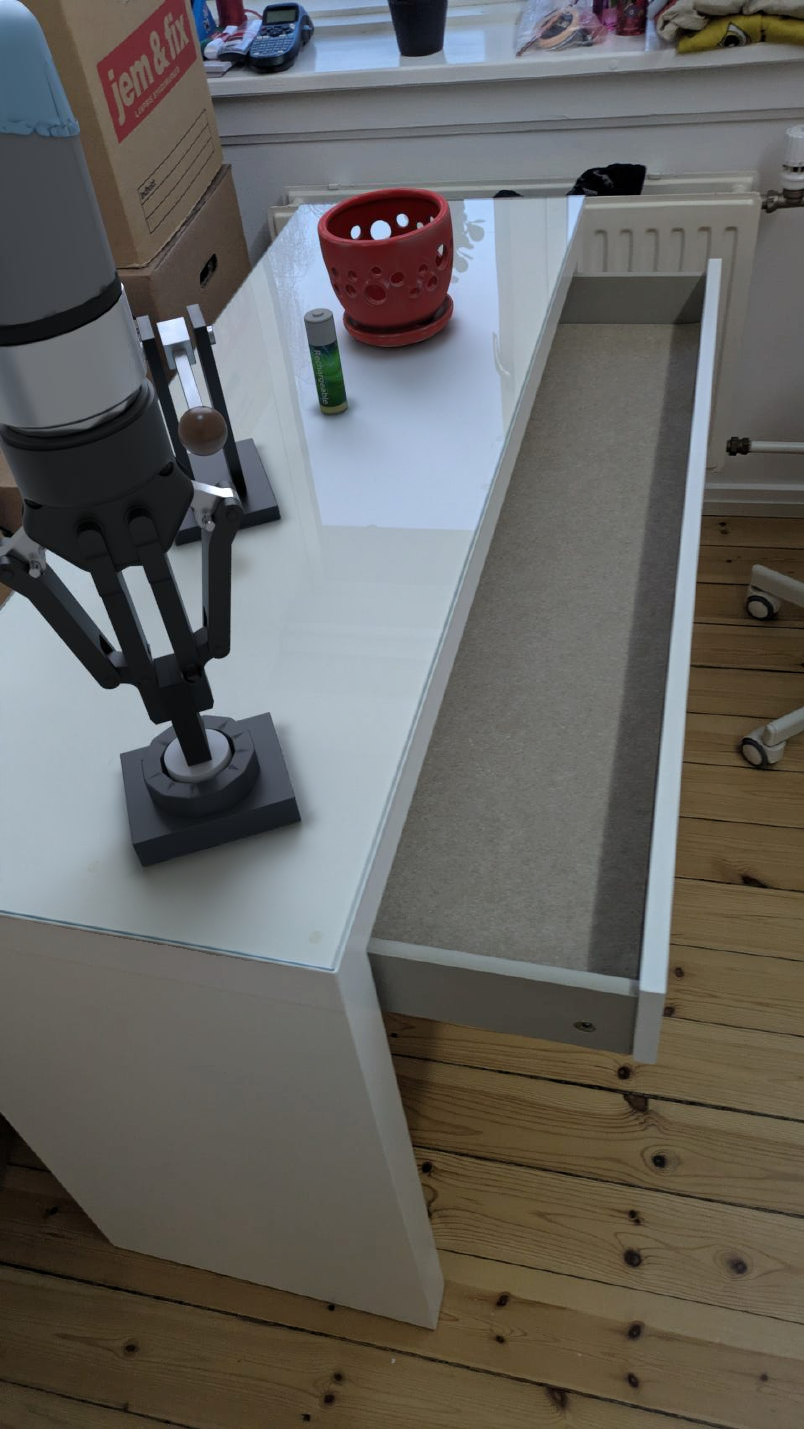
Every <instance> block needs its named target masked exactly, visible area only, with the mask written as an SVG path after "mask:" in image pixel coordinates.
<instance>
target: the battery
mask: <svg viewBox="0 0 804 1429" xmlns="http://www.w3.org/2000/svg"><path fill="white" fill-rule="evenodd" d="M303 323H304V328H305V333H306V339H307V344H308V350H309V356H310V360H311V367H312V371H313V372H312V373H313V377H314V382H315V388H316V393H317V399H318V404H319V409H320V411H321V413H322V414H324V415H332V416H333V415H339V414H342V413H343V412H345V411H346V410H347V409H348V407H349V404H348V399H347V398H348V396H347V392H346V385H345V378H344V373H343V366H342V361H341V355H340V354H341V353H340V348H339V343H338V336H337V331H336V324H335V318H334V313H333V311H332V310H331V309H329V308H325V307H322V308H321V307H319V308H314V309H311V310H309V311H307V312H306V313H305V314H304V315H303Z"/></svg>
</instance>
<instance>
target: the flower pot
mask: <svg viewBox="0 0 804 1429" xmlns="http://www.w3.org/2000/svg"><path fill="white" fill-rule="evenodd" d="M400 215H404V216H406V217H407V221H408V222H407V224H406V225H405V226H403V225H400V224H399V222H398V217H399V216H400ZM431 218H432V219H431ZM380 221H382V222H384V223H385V224H387V225H388V226H389V229H390V234H389V236H388V237H387V238H380V239H375V238H374V237H373V234H372V227H373V225H374V224H375V223H376V222H380ZM419 223H420V224H422V226H421V227H419V228H418V224H419ZM354 227H358V228H359V234H358V236H357V237H356V238H355V237H353V235H352V231H353V229H354ZM316 231H317V236H318V242H319V247H320V248H319V249H320V252H321V255H322V256H321V257H322V260H323V263H324V266H325V268H326V271H327V275H328V277H329V282H330V285H331V288H332V290H333V293H334V295H335V296H336V298H337V301H338V302H339V303H340V305H341V306H342V308H343V310H344V311H343V314H342V324H343V326H344V329H345V330H346V331H347V333H348V334H349V335H350V336H352V337H353V338H354V339H356V340H358V341H359V342H362V343H363V344H367V345H371V346H375V347H383V348H384V347H386V348H390V347H393V348H394V347H402V346H407V345H412V344H414V343H418V342H424V341H426V340H427V339H428V338H431V337H432V336H434V335H435V334H438V333H439V332H441V330H442V329H443V328H444V327H446V325H448V323H449V321H450V320H451V318H452V315H453V313H454V306H455V305H454V300H453V298H452V296H451V295H450V294H449V293H448V291H449V288H450V286H451V285H450V284H451V281H452V275H453V269H454V258H455V257H454V256H455V255H454V252H455V251H454V250H455V247H454V243H455V242H454V230H453V220H452V214H451V208H450V205H449V202H448V200H447V199H446V198H445V197H444V196H443V195H441V194H440V193H437V192H435V191H433V190H429V189H425V188H417V187H393V188H384V189H383V188H382V189H378V190H372V191H368V192H363V193H360V194H357V195H354V196H351V197H349V198H347V199H345V200H343V201H341V202H339V203H337V204H335V205H334V206H332V207H330V208H329V209H328V210H327V211H325V213H324V214H322V216H321V217H320V218H319V220H318V222H317V227H316ZM441 247H442V252H440V250H439V249H440V248H441Z"/></svg>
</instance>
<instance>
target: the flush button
mask: <svg viewBox="0 0 804 1429" xmlns="http://www.w3.org/2000/svg"><path fill="white" fill-rule="evenodd" d="M205 730H206V735H207V739H208V743H209V748H210V752H211V757H212V760H210V761H207V762H203V763H200V764H196V765H193V766H189V767H188V765H187V762H186V760H185V757H184V754H183V752H182V749H181V746H180V744H179V741H178V738H176V739H175V740H173V741H172V742H171V743H170V745H169V746H168V748H167V749H166V752H165V755H164V762H165V765H166V768H167V770H168V773H169V775H170V778H171V780H173V781H174V782H180V783H189V784H195V783H199V782H202V781H205V780H209V779H212V778H214V777H215V776H216V775H218V774H219V773H220V772H222V771H223V770H224V769H226V768H227V767H228V766H229V764H230V762H231V760H232V758H233V756H232V753H231V750H230V747H229V744H228V741H227V739H226V738H225V736H224V735H222V734H221V733H219V732H218V731H215V730H211V729H205Z"/></svg>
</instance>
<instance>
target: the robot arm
mask: <svg viewBox="0 0 804 1429" xmlns="http://www.w3.org/2000/svg"><path fill="white" fill-rule="evenodd" d="M80 133H81V128H80V125H79V121H78V119H77V118H76V117H75V116H74V114H73V111H72V108H71V105H70V103H69V100H68V97H67V94H66V91H65V89H64V85H63V84H62V81H61V77H60V76H59V72H58V69H57V66H56V64H55V60H54V58H53V55H52V52H51V50H50V48H49V45H48V42H47V40H46V37H45V34H44V31H43V29H42V27H41V24H40V22H39V21H38V19H37V18H36V16H35V15H34V13H32V12H31V10H29V8H28V7H27V6H25V5H24V4H23V3H22V2H21V1H19V0H0V449H1V451H2V453H3V456H4V459H5V461H6V463H7V465H8V467H9V468H8V469H9V470H10V472H11V475H12V477H13V479H14V482H15V484H16V487H17V489H18V491H19V494H20V496H21V498H22V506H21V510H20V511H21V512H20V513H21V517H22V518H21V526H20V527H19V528H18V529H17V531H16V532H15V533H14V534H13V535H12V536H11V537H8V536H7V537H5V536H4V537H3V536H2V537H0V583H1V584H3V586H6V587H7V588H9V589H11V590H13V591H14V592H15V593H18V594H19V595H21V596H23V597H24V598H26V599H28V601H29V602H30V603H31V604H32V605H33V607H34V608H35V609H36V610H37V611H38V613H39V614H40V615H41V616H42V617H43V618H44V620H45V621H46V622H47V623H48V624H49V626H50V628H52V629H53V631H54V633H56V634H57V635H58V637H59V638H60V639H61V640H62V642H63V643H64V644H65V645H66V646H67V648H68V649H69V650H70V651H71V653H72V654H73V655H74V657H75V658H76V659H77V660H78V661H79V662H80V664H82V666H83V667H84V668H85V670H86V671H87V672H88V673H89V674H90V675H91V677H92V678H93V679H94V681H95V682H96V683H97V684H98V686H100V687H101V688H102V689H104V690H114V689H117V688H118V687H120V685H125V684H126V685H130V686H133V687H135V688H136V689H137V690H138V692H139V695H140V698H141V701H142V702H143V706H144V707H145V711H146V712H147V716H148V718H149V720H150V721H151V722H152V723H153V724H154V725H155V726H158V725H162V724H164V723H165V724H166V723H167V722H170V723H171V726H172V725H173V728H174V730H175V733H176V736H177V738H178V741H179V744H180V746H181V749H182V752H183V754H184V757H185V760H186V762H187V765H188V767H189V766H193V765H196V764H200V763H203V762H207V761H210V760H212V757H211V752H210V748H209V743H208V739H207V735H206V730H205V727H204V724H203V722H202V719H201V716H202V715H201V713H202V712H205V711H210V710H212V709H214V704H215V699H214V696H213V691H212V686H211V684H210V681H209V677H208V675H207V671H206V668H205V667H206V665H207V664H208V662H210V661H211V660H213V659H216V660H220V659H221V660H222V659H224V658H227V657H228V656H229V655H230V652H231V639H232V638H231V635H232V634H231V632H232V630H231V628H232V614H231V613H232V560H233V559H232V554H233V553H232V552H233V551H232V550H233V548H232V547H233V546H232V545H233V542H234V540H235V538H236V535H237V533H238V531H239V530H240V529H239V526H240V524H241V522H242V519H243V516H244V512H243V509H242V506H241V502H240V499H239V496H238V494H237V491H236V488H235V485H234V484H233V483H232V482H230V481H220V482H218V483H217V484H216V485H215V486H211V485H208V484H204V483H200V482H197V481H193V480H191V475H190V473H189V471H188V470H187V468H186V467H185V466H184V465H183V464H181V463H180V462H179V461H178V460H177V458H176V456H175V452H174V449H173V446H172V443H171V439H170V436H169V432H168V429H167V426H166V422H165V419H164V416H163V412H162V409H161V406H160V402H159V399H158V396H157V392H156V391H155V390H156V389H155V386H154V385H153V383H152V381H151V380H150V379H149V378H147V374H148V364H147V361H145V358H144V355H143V351H142V348H141V345H140V342H141V341H140V338H139V334H138V331H137V327H136V324H135V321H134V320H135V319H134V317H133V314H132V311H131V310H132V309H131V307H130V303H129V300H128V297H127V293H126V291H125V290H126V289H125V286H124V285H123V283H122V282H121V278H120V275H119V272H118V269H117V267H116V262H115V260H114V257H113V253H112V250H111V246H110V242H109V238H108V235H107V231H106V228H105V225H104V220H103V217H102V213H101V209H100V206H99V203H98V199H97V195H96V192H95V188H94V185H93V181H92V177H91V173H90V170H89V166H88V163H87V159H86V156H85V153H84V149H83V145H82V141H81V137H80ZM190 506H191V507H192V508H194V514H195V517H196V521H197V524H198V526H199V527H201V528H202V539H201V620H202V621H201V624H202V626H201V627H200V628H199V629H197V630H195V631H194V630H193V627H192V625H191V622H190V619H189V615H188V613H187V609H186V607H185V604H184V600H183V598H182V594H181V592H180V589H179V586H178V583H177V580H176V577H175V574H174V571H173V567H172V564H171V561H170V559H169V555H168V552H169V551H170V550H171V549H172V547H173V545H174V544H175V538H176V536H177V534H178V532H179V529H180V527H181V525H182V523H183V521H184V518H185V516H186V514H187V512H188V509H189V507H190ZM44 549H46V550H47V551H49V552H51V553H53V555H56V556H57V557H59V558H61V559H63V560H64V561H66V562H68V563H69V564H71V565H72V566H74V567H76V568H78V569H79V570H81V571H84V572H86V573H90V576H91V579H92V581H93V584H94V587H95V589H96V592H97V594H98V596H99V598H101V601H102V604H103V606H104V609H105V611H106V614H107V616H108V619H109V622H110V624H111V626H112V629H113V633H114V634H115V637H116V640H117V642H118V645H119V647H120V650H121V651H120V650H116V648H115V647H114V645H112V643H111V642H110V640H109V639H108V638H107V637H106V635H105V634H104V633H103V631H102V630H101V629H100V627H98V625H97V624H96V622H95V621H94V620H93V619H92V618H91V616H90V615H89V614H88V612H87V611H86V610H85V608H84V607H83V606H82V605H81V603H80V602H79V601H78V599H77V598H76V597H75V596H74V595H73V593H72V592H71V591H70V589H69V587H68V586H66V585H65V583H64V581H62V579H61V578H60V576H58V574H57V573H56V572H55V570H54V569H53V568H52V567H51V566H50V565H49V563H48V562H47V557H46V556H47V555H46V554H47V553H46V552H45V550H44ZM130 567H142V568H143V572H144V574H145V578H146V580H147V582H148V584H149V586H150V589H151V592H152V595H153V598H154V600H155V603H156V605H157V609H158V611H159V614H160V617H161V619H162V623H163V625H164V629H165V631H166V634H167V637H168V640H169V642H170V645H171V648H172V651H173V652H172V653H168V654H166V655H165V654H164V655H162V656H158V657H154V658H153V654H152V649H151V644H150V643H149V642H148V639H147V637H146V634H145V632H144V628H143V626H142V623H141V620H140V617H139V615H138V611H137V609H136V606H135V603H134V600H133V598H132V595H131V592H130V590H129V587H128V585H127V582H126V579H125V577H124V574H123V573H124V572H123V571H124V570H126V569H128V568H130Z"/></svg>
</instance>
